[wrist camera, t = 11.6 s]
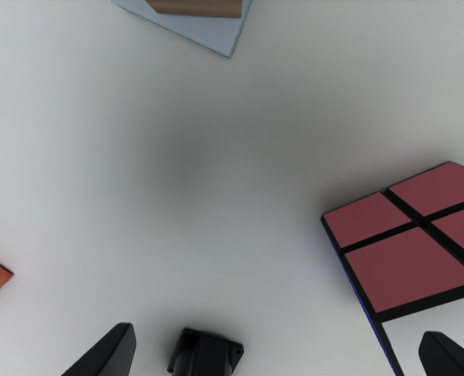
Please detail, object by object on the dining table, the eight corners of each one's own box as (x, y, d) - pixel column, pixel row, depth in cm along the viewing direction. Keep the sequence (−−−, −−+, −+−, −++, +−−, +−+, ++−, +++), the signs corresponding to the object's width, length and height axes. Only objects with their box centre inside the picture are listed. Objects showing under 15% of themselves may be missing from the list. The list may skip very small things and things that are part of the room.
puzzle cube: (317, 214, 21) (371, 320, 12) (452, 157, 19) (646, 235, 10) (359, 301, 24) (426, 438, 15) (479, 262, 22) (644, 395, 13)
